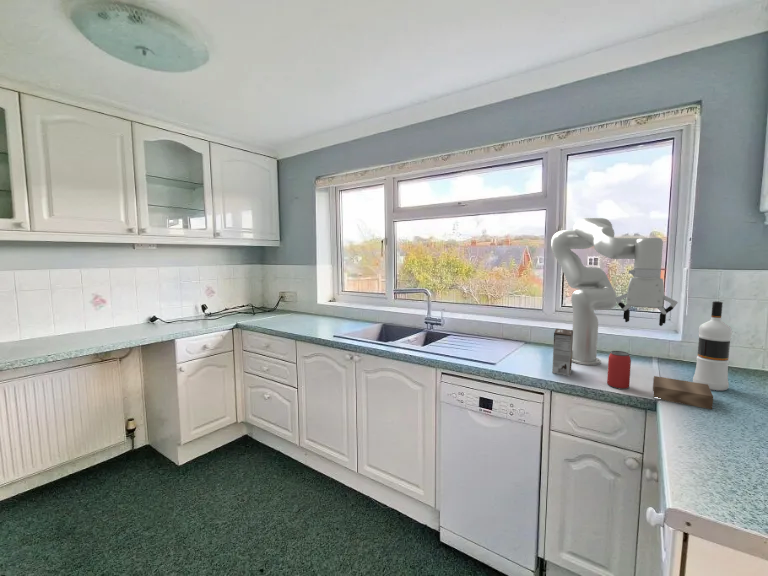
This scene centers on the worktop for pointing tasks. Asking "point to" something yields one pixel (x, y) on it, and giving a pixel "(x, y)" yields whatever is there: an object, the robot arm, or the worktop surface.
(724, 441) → the worktop surface
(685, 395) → the walnut base
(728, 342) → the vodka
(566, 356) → the coffee box
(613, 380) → the beer can
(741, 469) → the worktop surface
